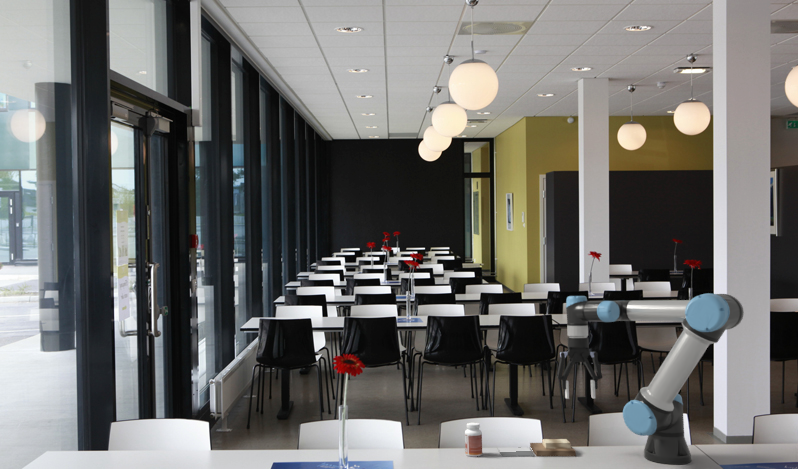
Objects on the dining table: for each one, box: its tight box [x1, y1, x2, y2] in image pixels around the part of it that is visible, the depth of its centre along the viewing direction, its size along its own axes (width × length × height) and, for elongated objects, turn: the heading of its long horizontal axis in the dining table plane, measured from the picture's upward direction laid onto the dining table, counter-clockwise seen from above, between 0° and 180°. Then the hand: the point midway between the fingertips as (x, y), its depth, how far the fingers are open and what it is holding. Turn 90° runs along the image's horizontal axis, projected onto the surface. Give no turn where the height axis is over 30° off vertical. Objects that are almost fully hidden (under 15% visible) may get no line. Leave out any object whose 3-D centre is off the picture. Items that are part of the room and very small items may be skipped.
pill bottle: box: [464, 422, 483, 458], centre depth 222 cm, size 6×6×11 cm
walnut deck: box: [529, 442, 577, 457], centre depth 224 cm, size 14×12×2 cm
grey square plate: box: [499, 446, 536, 458], centre depth 224 cm, size 12×12×1 cm
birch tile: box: [541, 438, 572, 449], centre depth 224 cm, size 9×6×2 cm, turn 89°
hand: (580, 398), depth 226 cm, fingers open, 9 cm apart
